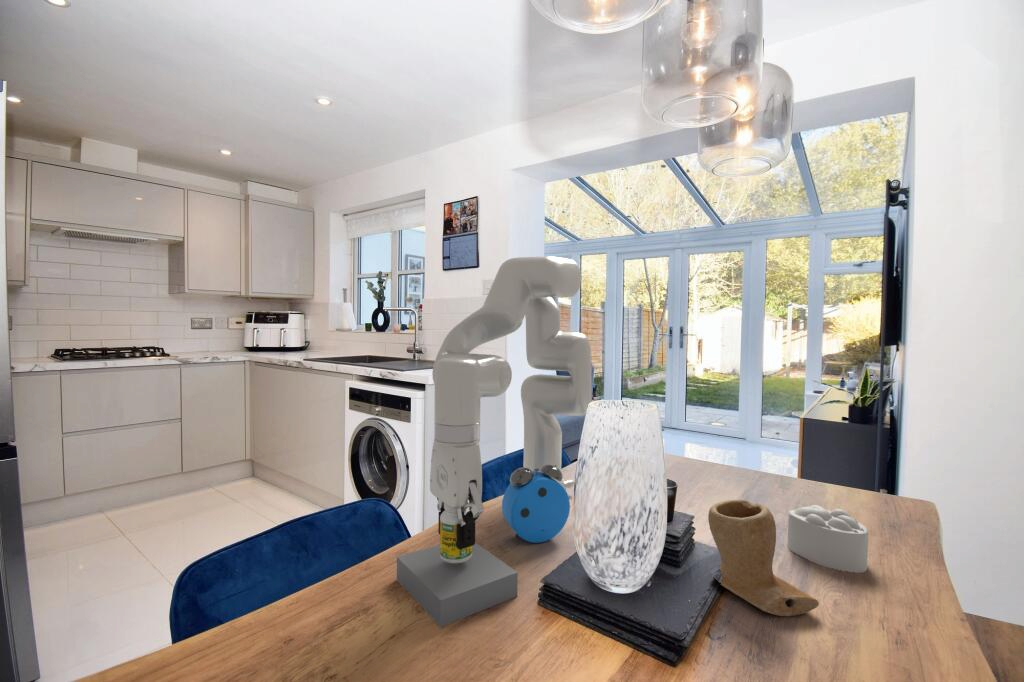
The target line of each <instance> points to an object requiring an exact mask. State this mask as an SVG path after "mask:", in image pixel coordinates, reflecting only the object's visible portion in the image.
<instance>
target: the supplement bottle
mask: <svg viewBox="0 0 1024 682" xmlns="http://www.w3.org/2000/svg"><path fill="white" fill-rule="evenodd" d="M465 503H469V500H468V499H467V500H466V502H465ZM468 508H469V507H468ZM468 508H464V515H465V514H466V513H467V512H468V511H470V510H469V509H468ZM444 509H445V511H443V512H442V514H441V516H440V534H439V544H440V556H441V558H442V559H443V560H444V561H446V562H449V563H461V562H465V561H467V560H469V559H470V558H471V556H472V546H470V547H467V548H463V549H460V550H459V549H458V548H457V524H459V518H458V511H457V509H454V508H452V507H451V506H449V505H448V504H446V503H444Z"/></svg>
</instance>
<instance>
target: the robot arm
mask: <svg viewBox="0 0 1024 682" xmlns="http://www.w3.org/2000/svg"><path fill="white" fill-rule="evenodd" d="M495 275H496V276H495V277H494V280H493V281H492V284H491V286H490V289H489V291H488V293H487V295H486V298H485V300H484V303H483V305H482V306H481V308H479V309H478V310H476V311H474V312H472V313H471V314H469V315H468V316H467V317H466V318H464V319H463V320H462V321H461V322H459V323H457V324H456V325H455V326H454V327H453V328H452V329H451V330H450V331H449V332H448V333H447V335H446V336H445V338H444V340H443V341H442V344H441V346H440V348H439V350H438V352H437V354H436V356H435V360H434V363H433V367H432V374H431V375H432V381H433V384H434V437H433V442H432V443H433V444H432V449H431V450H432V451H431V456H430V457H431V459H430V470H429V471H430V472H429V473H430V475H429V491H430V493H431V494H432V495H433V496H434V497H435V498H436V499H437V505H436V507H437V510H438V526H437V527H438V530H437V531H438V534H439V535H440V516H441V514H442V512H443V511H445V509H444V503H446V504H448V505H449V506H451V507H452V508H454V509H457V511H458V518H459V524H457V548H458V549H459V550H460V549H463V548H467V547H470V546H473V545H474V544H475V543H476V523H478V519H479V517H480V515H482V514H483V513H484V511H485V507H484V504H483V502H482V495H483V471H482V470H483V469H482V468H483V467H482V457H481V448H480V442H481V398H495V397H498V396H501V395H502V394H504V393H505V392H506V391H507V390H508V389H509V387H510V384H511V382H512V377H513V376H512V375H513V373H512V368H511V365H510V363H509V362H508V361H507V360H506V359H505V358H504V357H502V356H499V355H495V354H485V353H483V354H482V353H470V352H472V351H473V350H474V349H476V348H478V347H479V346H481V345H483V344H486V343H488V342H491V341H494V340H498V339H500V338H503V337H505V336H508V335H510V334H512V333H514V332H516V331H517V330H519V328H521V326H522V324H523V322H524V318H525V344H526V345H525V347H526V348H525V350H526V353H525V354H526V360H527V363H528V365H529V366H530V367H531V368H533V369H537V370H542V371H559V372H568V373H569V375H558V374H533V375H530V376H527V377H526V378H524V380H523V382H521V387H520V399H521V405H522V412H523V464H522V465H523V467H525V468H528V469H530V470H531V471H534V469H539V470H538V472H541V471H540V470H541V468H542V467H543V466H545V465H553V466H555V465H556V467H557V468H558V469H559V470H560V471H561V472H562V449H563V445H562V444H563V443H562V441H563V431H562V428H561V425H560V423H559V421H558V420H557V418H556V417H555V415H563V416H573V417H576V416H577V417H580V416H584V415H587V413H586V410H587V406H588V404H589V403H590V402H591V403H592V395H593V394H592V389H593V388H592V386H593V385H592V383H593V382H592V381H593V379H592V348H591V347H592V346H591V343H590V340H589V337H587V336H586V334H584V333H582V332H576V331H562V329H561V311H560V307H558V304H557V303H556V302H555V300H554V298H572V297H574V296H576V294H577V293H578V292H579V290H580V287H581V283H582V272H581V269H580V266H579V264H578V263H577V262H576V261H575V260H573V259H572V258H570V259H569V258H565V257H559V256H549V255H548V256H545V255H544V256H525V257H523V256H521V257H519V256H518V257H512V258H509V259H507V260H505V261H504V262H502V263H501V265H500V267H499V268H498V270H497V273H496V274H495ZM542 473H543V472H542ZM551 478H552V477H551ZM552 479H554V478H552ZM554 480H555V481H557V482H558V483H560V484H561V485H562V486H563V487H564V489H565V490H566V491H567V489H571V488H573V485H574V483H575V481H574V479H568V480H564V478H563V479H562V482H561V481H558V480H556V479H554ZM574 486H575V485H574ZM467 499H468V503H465V502H466V500H467ZM464 508H469V509H468V510H469V511H468V512H467V513H466V514H465V515H464Z"/></svg>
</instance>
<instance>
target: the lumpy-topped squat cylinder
mask: <svg viewBox="0 0 1024 682" xmlns="http://www.w3.org/2000/svg"><path fill="white" fill-rule="evenodd" d="M787 515H788V519H787V542H786V545H787V548H788V550H789V551H791V552H792V553H794V554H796V555H798V556H799V555H800V556H799V557H801V556H802V558H803V557H804V559H805V558H806V559H805V560H807V559H808V561H809V562H812V561H813V562H812V563H814V562H815V564H816V563H817V565H819V564H820V565H819V566H822V565H823V566H822V567H825V566H826V567H825V568H828V567H829V568H828V569H832V568H834V570H836V569H837V570H838V571H840V570H842V571H841V572H845V571H848V572H847V573H853V572H855V574H858V573H859V574H861V573H866V572H867V570H868V552H869V551H868V550H869V531H868V528H867V527H866V525H863V524H862V523H860V522H859V521H858V520H856V519H855V518H853V517H852V516H851V515H850V513H849V512H848V511H847V510H844V509H840V508H835V509H833V510H829V509H826V508H824V507H822V506H821V505H818V504H812V505H810V506H803V507H798V508H797V509H791V510H789V511H788V514H787ZM837 570H836V571H837Z"/></svg>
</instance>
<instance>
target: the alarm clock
mask: <svg viewBox="0 0 1024 682" xmlns="http://www.w3.org/2000/svg"><path fill="white" fill-rule="evenodd" d="M538 470H539V469H534V471H531V470H530V469H528V468H525V467H519V468H517V469H515V470H514V471H513V472H512V473H511V475H510V478H509V479H510V480H509V482H510V483H509V484H508V486H507V487H506V489H505V491H504V493H503V497H502V502H501V512H502V514H503V518H504V519H505V522H506V523H507V525H508V526H509V527H510V529H512V531H514V532H515V537H518V536H519V537H520V538H521V539H522V540H524V541H525V542H528V543H534V544H538V543H540V544H541V543H545V542H547V541H550V540H551V539H553V538H554V537H556V536H557V535H558V534H559V533H560V532H561V531H562V530H563V528H564V527H565V525H566V524H567V522H568V518H569V516H570V512H571V511H570V510H571V505H570V503H571V501H570V497H569V494H568V492H567V489H566V490H565V489H564V487H563V486H562V485H561V484H560V483H558V482H557V481H555V480H554V479H556V480H558V481H561V482H562V479H563V480H564V476H563V473H562V470H561V471H560V470H559V469H558V468H557V467H556V465H555V466H553V465H545V466H543V467H542V468H541V470H540V471H541V472H538ZM542 472H543V473H542ZM551 477H552V478H554V479H552V478H551Z"/></svg>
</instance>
